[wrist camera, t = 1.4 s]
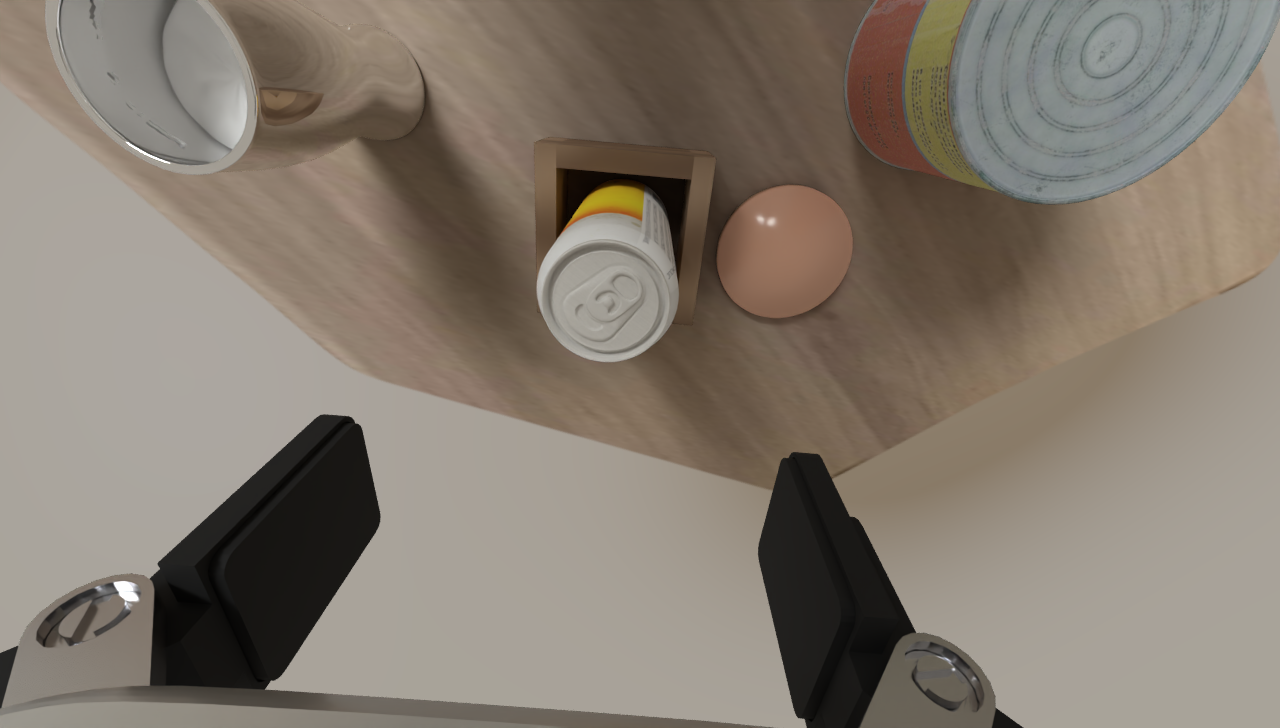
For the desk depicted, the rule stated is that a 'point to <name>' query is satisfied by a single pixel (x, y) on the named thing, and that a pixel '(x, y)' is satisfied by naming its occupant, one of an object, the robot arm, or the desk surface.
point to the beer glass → (231, 80)
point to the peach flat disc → (784, 251)
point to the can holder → (627, 159)
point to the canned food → (1047, 87)
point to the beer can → (611, 274)
